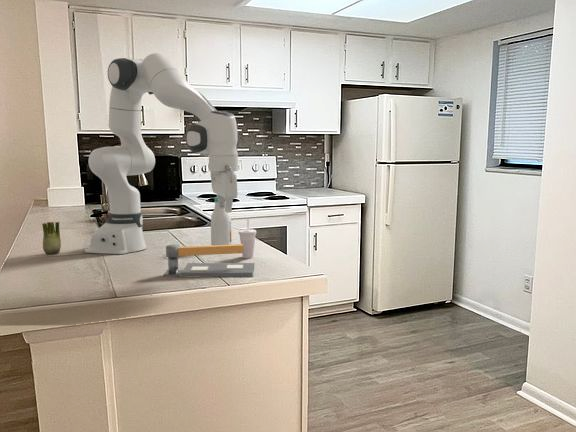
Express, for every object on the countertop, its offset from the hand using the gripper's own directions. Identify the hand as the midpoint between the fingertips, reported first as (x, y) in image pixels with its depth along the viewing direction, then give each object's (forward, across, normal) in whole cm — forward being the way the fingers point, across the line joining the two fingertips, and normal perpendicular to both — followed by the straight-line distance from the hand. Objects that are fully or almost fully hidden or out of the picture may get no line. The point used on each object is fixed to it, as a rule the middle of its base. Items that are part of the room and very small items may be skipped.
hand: (224, 210), depth 156 cm
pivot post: (+20, +6, +16) cm, 26 cm away
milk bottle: (+20, +37, -6) cm, 42 cm away
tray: (+20, +4, +2) cm, 21 cm away
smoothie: (+20, +20, -12) cm, 31 cm away
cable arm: (+14, +4, +6) cm, 16 cm away
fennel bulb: (+20, +48, +54) cm, 75 cm away
